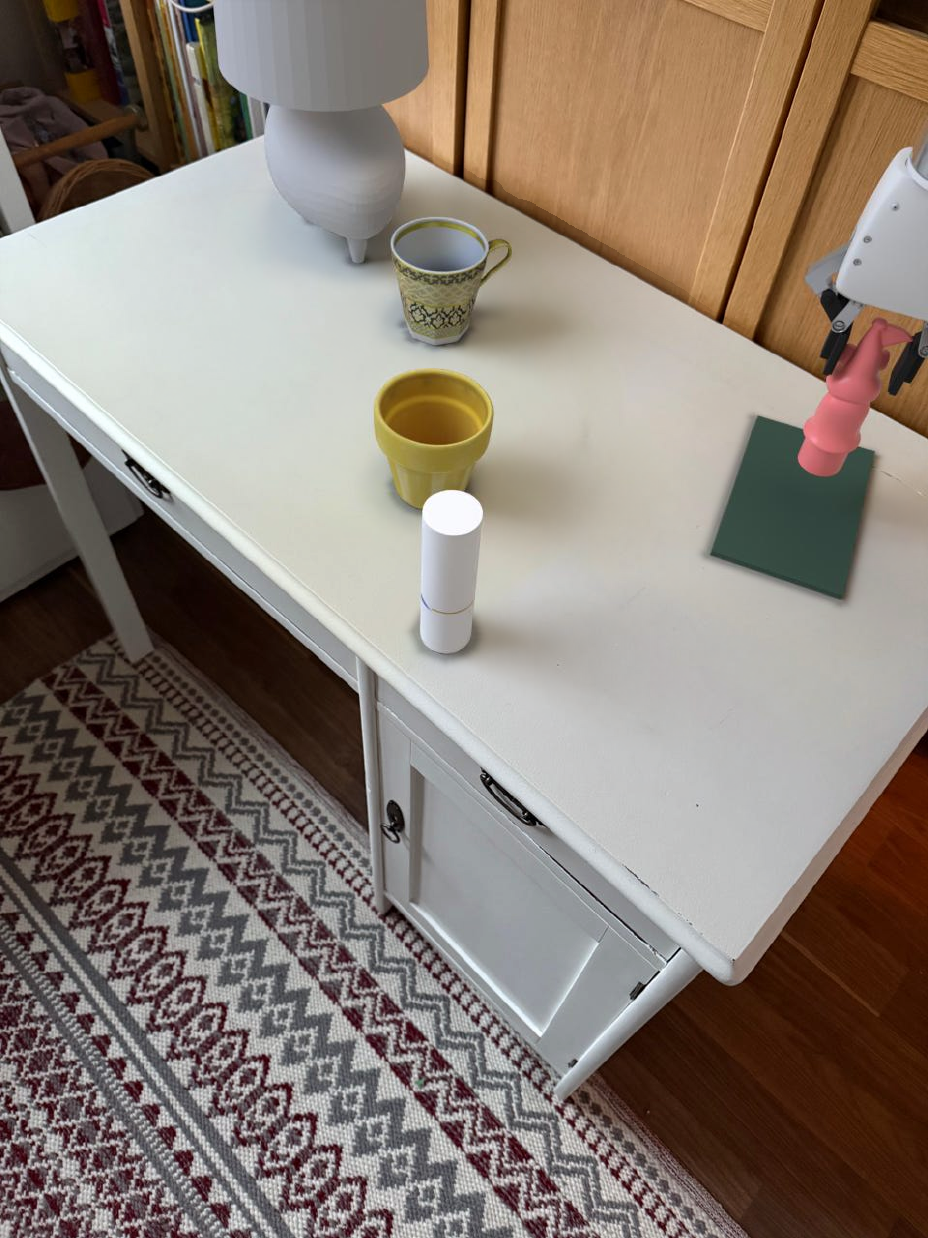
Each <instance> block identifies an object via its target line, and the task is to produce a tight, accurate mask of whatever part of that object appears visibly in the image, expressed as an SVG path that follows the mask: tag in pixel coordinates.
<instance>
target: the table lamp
mask: <svg viewBox="0 0 928 1238" xmlns="http://www.w3.org/2000/svg"><path fill="white" fill-rule="evenodd" d="M212 5H213V16H214V27H215V29H214V30H215V39H216V49H217V62H218V69H219V71H220V74H221V75H222V77H223V78H224V79H225V80H226V82H228V84H229V85H230V86H232V87H233V88H234V89H236V90H237V91H238V92H240V93H242V94H244V95H246V96H247V97H249V98H252V99H255V100H257V101H260V102H261V103H262V102H263V103H265V104H269V105H270V106H269V109H268V112H267V115H266V119H265V123H264V132H263V145H264V155H265V162H266V165H267V169H268V172H269V175H270V178H271V180H272V182H273V185H274V186H275V188H276V190H277V191H278V193H279V194H280V196H281V197H282V199H283V200H284V201H285V202H286V203H287V204H288V205H289V207H290V208H292V210H294V211H295V212H296V213H297V214H298V215H299V216H301V217H302V218H303V219H304V220H307V221H308V222H310V223H311V224H313V225H315V226H317V227H319V228H320V229H323V230H325V231H328V232H329V233H333V234H334V235H338V236H341V237H344V238H346V243H347V245H348V248H349V254H350V257H351V260H352V262H353V263H355V264H362V263H364V262H365V257H366V250H367V243H368V239H369V238H373V237H375V236H377V235H378V234H379V233H381V232H382V230H384V229H385V228H386V227H387V225H388V224H389V222H390V221H391V219H392V218H393V216H394V215H395V213H396V211H397V208H398V206H399V204H400V201H401V199H402V195H403V192H404V191H403V190H404V186H405V182H406V181H405V180H406V172H407V171H406V169H407V168H406V166H407V165H406V162H407V161H406V160H407V159H406V151H405V145H404V141H403V137H402V134H401V133H400V130H399V128H398V126H397V123H396V122H395V120H394V119H393V117H392V116H391V115H390V113H389V112H388V111H387V109H386V108H385V107H384V106H383V105H384V104H388V103H391V102H393V101H397V100H398V99H400V98H402V97H405V96H406V95H408V94H410V93H411V92H413V91H414V90H416V89H417V88H418V87H419V86H420V85H421V84H422V83H423V82H424V80H425V79H426V77H427V76H428V73H429V70H430V54H429V52H430V51H429V36H428V35H429V33H428V15H427V13H428V12H427V0H212Z"/></svg>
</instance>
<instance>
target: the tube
mask: <svg viewBox="0 0 928 1238" xmlns="http://www.w3.org/2000/svg"><path fill="white" fill-rule="evenodd" d="M421 513H422V515H421V517H422V519H421V567H420V570H421V573H420V575H421V576H420V619H419V622H420V623H419V630H420V631H419V635H420V639H421V641H422V642H423V644H424V645H425V647H427V648H428V649H429V650H431V651H433V652H435V653H439V654H453V653H457V652H459V651H461V650H462V649H464V648H466V646H467V645H468V644H469V643H470V640H471V638H472V627H473V617H474V607H475V597H476V589H477V588H476V586H477V580H478V579H477V578H478V567H479V560H480V559H479V558H480V548H481V539H482V538H481V537H482V529H483V527H482V526H483V518H484V511H483V507H482V504H481V503H480V502H479V500H478V499H477V498H476V497H475V496H473V495H471V493H468V492H465V491H464V492H462V491H457V490H446V491H441V492H438V493H436V494H434V495H432V496H431V497H430V498H429V499H427V501H426V502H425V504H424V506H423V509H422V512H421Z"/></svg>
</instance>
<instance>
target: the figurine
mask: <svg viewBox="0 0 928 1238" xmlns="http://www.w3.org/2000/svg"><path fill="white" fill-rule="evenodd" d="M912 336H913V335H912V334H911V333H910V332H909V331H908V330H907V329H905V328H903V327H901V326H899V325H896V324H893V323H889V322H888V321H887V319H885V318H883V317H880V316H877V317H875V318H873V319H872V321H871V326H870V327H869V329H867V330H866V332H865V333H864V335H863V336H862V337H861V339H860V340H859V342H858V343H857V345H856V344H853V343H851V342H847V344H846V346H845V348H844V350H843V352H842V354H841V357H840V359H839V361H838V363H837V365H836V367H835V369H834V371H833V373H832V375H829V376H826V380H825V385H826V389H827V391H828V392H827V393H825V394H824V396H823V397H822V398H821V400H820V402H819V404H818V405H817V407H816V408H815V411H814V413H813V415H811V416H810V417H809V418H808V419H807V420H806V421H805V422H804V424H803V428H802V429H803V432H804V435H805V437H806V438H805V440H804V442H803V445H802V447H801V449H800V452H799V454H798V461H799V463H800V465H801V466H802V467H803V468H804V469H805V470H806V471H808V472H809V473H811V474H814V475H817V476H832V475H834V474H836V473H838V472H839V471H840V469H841V467H842V465H843V463H844V461H845V459H846V457H847V455H848V453H849V452H851V451H853V450H855V449H856V448H857V447H858V446H859V447H860V444H861V440H862V434H861V428H862V426H863V423H864V422H865V420H866V418H867V417H868V415H869V413H870V408H871V402H873V401H874V400H876V399H877V397H878V396H879V394H880V392H881V391H882V386H883V385H882V383H883V382H882V378H881V376H880V374H879V373H880V372H882V371H885V369H886V368H887V367H888V365H889V363H890V359H891V352H890V350H888V349H885V348H887V347H890V346H893V345H898V344H902V343H908V342H912V341H913V337H912Z"/></svg>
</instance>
